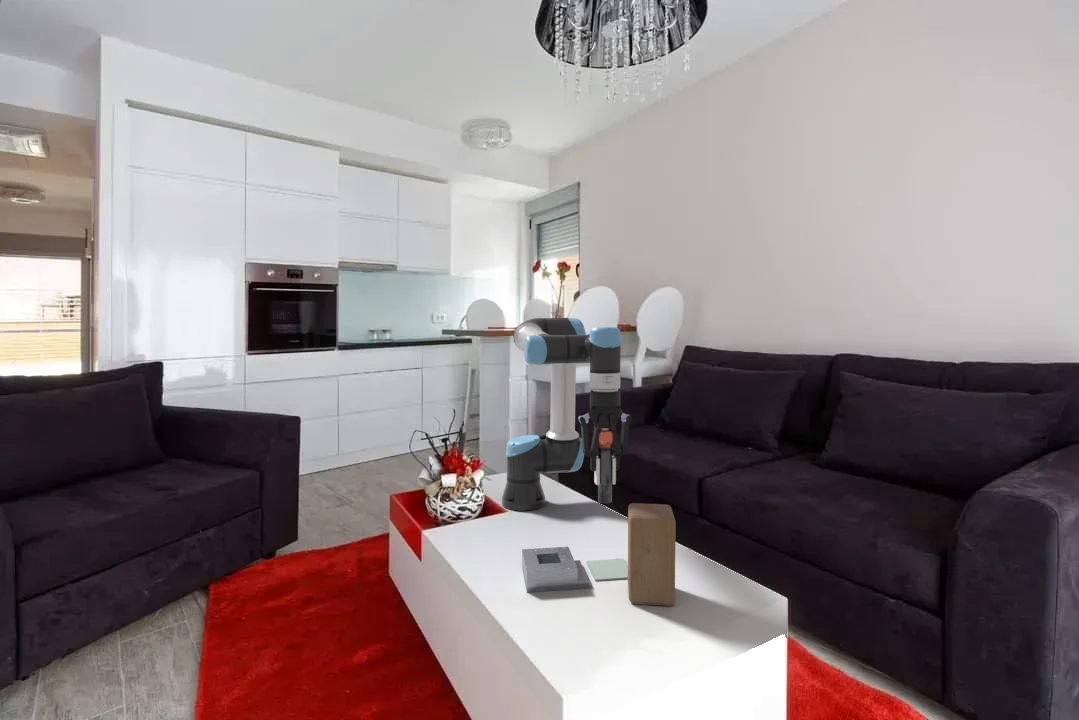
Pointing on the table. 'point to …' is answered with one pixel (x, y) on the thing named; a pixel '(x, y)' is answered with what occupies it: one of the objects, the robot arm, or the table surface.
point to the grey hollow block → (552, 570)
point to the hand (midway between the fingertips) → (604, 482)
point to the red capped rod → (605, 465)
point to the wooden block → (651, 554)
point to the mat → (608, 569)
